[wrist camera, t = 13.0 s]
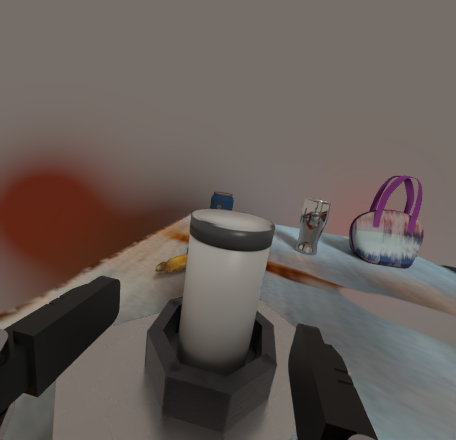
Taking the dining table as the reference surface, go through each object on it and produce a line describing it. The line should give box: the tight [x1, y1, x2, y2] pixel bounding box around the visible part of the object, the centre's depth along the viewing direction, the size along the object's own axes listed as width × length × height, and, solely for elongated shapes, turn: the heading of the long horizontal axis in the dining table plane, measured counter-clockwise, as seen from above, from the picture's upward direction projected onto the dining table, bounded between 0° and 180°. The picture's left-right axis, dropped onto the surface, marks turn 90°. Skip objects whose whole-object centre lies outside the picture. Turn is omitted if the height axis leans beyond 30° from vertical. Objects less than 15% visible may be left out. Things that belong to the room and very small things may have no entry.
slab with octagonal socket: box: [52, 297, 352, 440], centre depth 17 cm, size 20×14×7 cm
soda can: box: [210, 192, 233, 211], centre depth 66 cm, size 7×7×12 cm
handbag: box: [349, 176, 424, 268], centre depth 60 cm, size 21×10×25 cm, turn 88°
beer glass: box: [295, 198, 331, 255], centre depth 59 cm, size 7×7×15 cm
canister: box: [176, 209, 275, 376], centre depth 16 cm, size 6×6×12 cm
